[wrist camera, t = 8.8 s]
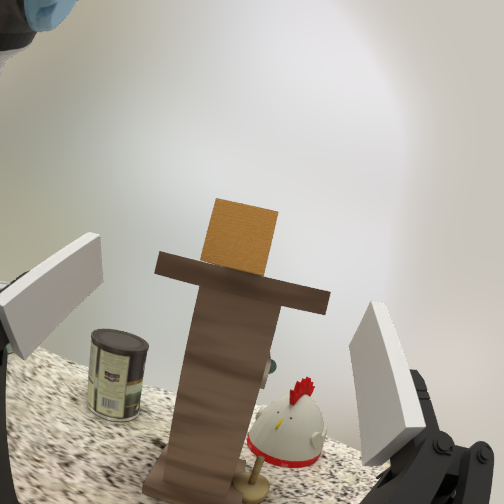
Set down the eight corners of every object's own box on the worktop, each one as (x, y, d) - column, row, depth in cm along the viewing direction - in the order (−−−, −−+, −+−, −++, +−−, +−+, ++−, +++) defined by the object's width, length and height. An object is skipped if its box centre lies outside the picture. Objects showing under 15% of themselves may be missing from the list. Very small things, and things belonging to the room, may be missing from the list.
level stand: (265, 531, 21) (352, 296, 23) (126, 495, 22) (159, 251, 24) (265, 467, 36) (318, 290, 38) (161, 441, 37) (197, 261, 39)
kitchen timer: (231, 441, 42) (250, 369, 44) (273, 422, 53) (292, 361, 54) (296, 477, 34) (327, 401, 35) (330, 448, 44) (355, 382, 46)
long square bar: (263, 275, 15) (278, 211, 15) (200, 260, 15) (216, 198, 15) (262, 277, 39) (268, 252, 39) (237, 271, 39) (243, 246, 39)
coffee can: (128, 393, 49) (137, 331, 50) (147, 421, 41) (158, 352, 43) (81, 391, 42) (87, 324, 44) (93, 421, 35) (97, 346, 36)
